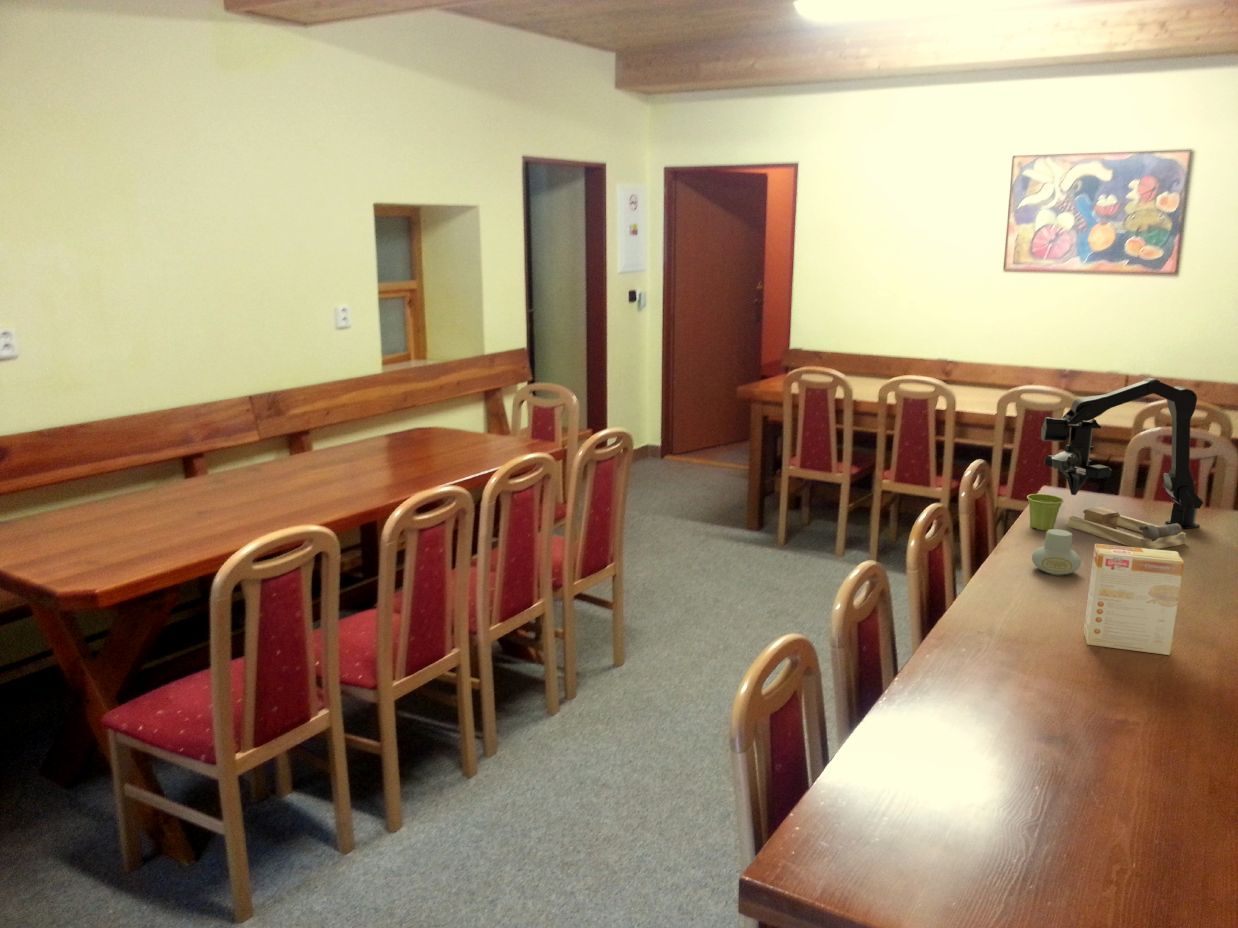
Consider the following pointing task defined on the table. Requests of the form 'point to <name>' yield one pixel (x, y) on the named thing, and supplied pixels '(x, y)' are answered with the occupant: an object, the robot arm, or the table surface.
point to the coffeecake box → (1133, 598)
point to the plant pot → (1043, 510)
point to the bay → (1151, 533)
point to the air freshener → (1056, 554)
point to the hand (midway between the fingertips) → (1073, 494)
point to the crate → (1102, 516)
